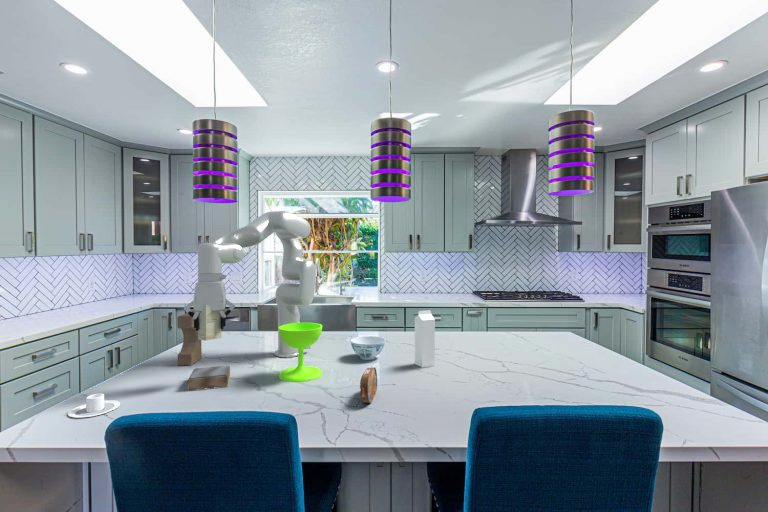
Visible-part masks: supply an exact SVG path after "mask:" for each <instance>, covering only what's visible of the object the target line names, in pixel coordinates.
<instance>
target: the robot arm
mask: <svg viewBox="0 0 768 512" xmlns="http://www.w3.org/2000/svg"><path fill="white" fill-rule="evenodd" d="M273 233H275V235H276V236H277V237H278V239H279V240H280V242H281V244H282V247H283V255H282V262H281V263H282V265H281V276H282V278H283V279H284V280H287V281H299V283H292V282H291V283H289V282H286V283H282V284H280V285H278V286H277V288H276V289H275V301H276V306H277V349H276V350H275V351H274V356H276V357H278V358H294V357H298V349H297V348H293V347H290V346H289V345H287V344H286V343H285V342H284V341H283V340H282V338H281V336H280V334H279V327H280V326H282V325H285V324H291V323H301V321H300V320H301V315H300V310H299V307H298V306H302V307H303V306H304V307H306V306H309V305H311V304H312V302H313V300H314V297H315V289H316V282H317V281H316V280H317V268H316V265H315V262H313V261H312V260H310V259H303V255H304V253H303V252H304V249H303V246H302V243H301V241H300V240H299V239H306V238H307V237H309V235H310V234H311V224H310V223H309V221H308V220H306V218H303V217H300V216H298V215H296V214H294V213H292V212H289V211H286V210H278V211H277V210H273V211H267V212H264V213H262V214H261V215H260V216H258V217H256V218H255V219H254V220H252V221H251V222H250V223H248V224H246V225H245V226H243V227H241V228H238V229H236V230H233V231H231V232H227V233H226V234H224V235H222V236H220V237H218V238H217V239H215V240H213V241H212V242H208V243H207V242H204V243H200V244H198V246H197V282H196V283H195V286H194V292H193V300H192V301H190V303H188V304H186V305H185V306H184V307H183V310H184V311H185V312H186V313H188V314H189V315H190V316H191V317H192V318H193V319H194V328H196V331H198V330H199V318H198V315H199V313H200V312H201V311H202V309H203V305H211V308H212V311H219V312H220V314H221V330H224V328H225V327H226V324H227V323H226V320H227V319H226V317H228V315H230V313H231V312H233V310H234V308H235V307H236V305H235V304H234V303H233V302H231V301H229V300H228V299H227V295H226V287H225V282H224V281H223V280H227V275H226V274H223V273H222V270H223V269H222V265H223V264H225V265H226V264H229V265H230V264H232V265H233V264H234V265H235V264H237V263H239V262H242V260H243V258H244V256H245V250H244V248H249V247H253V246H257V245H259V244H261V243H263V241H264V240H266V239H267V238H268V237H269V236H271V235H272V234H273ZM192 306H193V311H192V310H191V308H192ZM227 306H229V307H228V309H227V310H226V311H225V309H226V308H227ZM194 312H195V313H194ZM310 349H311V346H309V347H306V348H303V350H310Z"/></svg>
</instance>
